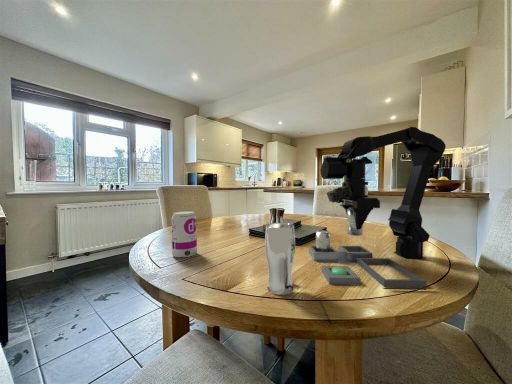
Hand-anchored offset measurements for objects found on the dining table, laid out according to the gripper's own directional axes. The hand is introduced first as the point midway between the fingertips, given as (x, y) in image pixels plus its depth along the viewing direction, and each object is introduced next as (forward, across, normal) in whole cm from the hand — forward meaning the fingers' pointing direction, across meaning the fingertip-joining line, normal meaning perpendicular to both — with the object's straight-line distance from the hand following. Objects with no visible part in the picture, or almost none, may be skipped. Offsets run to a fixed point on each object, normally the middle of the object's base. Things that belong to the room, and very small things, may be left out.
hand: (355, 227), depth 66 cm
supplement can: (+10, -4, -57) cm, 58 cm away
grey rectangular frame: (+10, +12, +3) cm, 16 cm away
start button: (+9, +15, -10) cm, 20 cm away
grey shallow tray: (+10, 0, -5) cm, 12 cm away
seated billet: (+9, 0, -10) cm, 14 cm away
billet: (+2, 0, 0) cm, 2 cm away
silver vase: (+10, +19, -25) cm, 33 cm away
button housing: (+10, +15, -10) cm, 21 cm away
